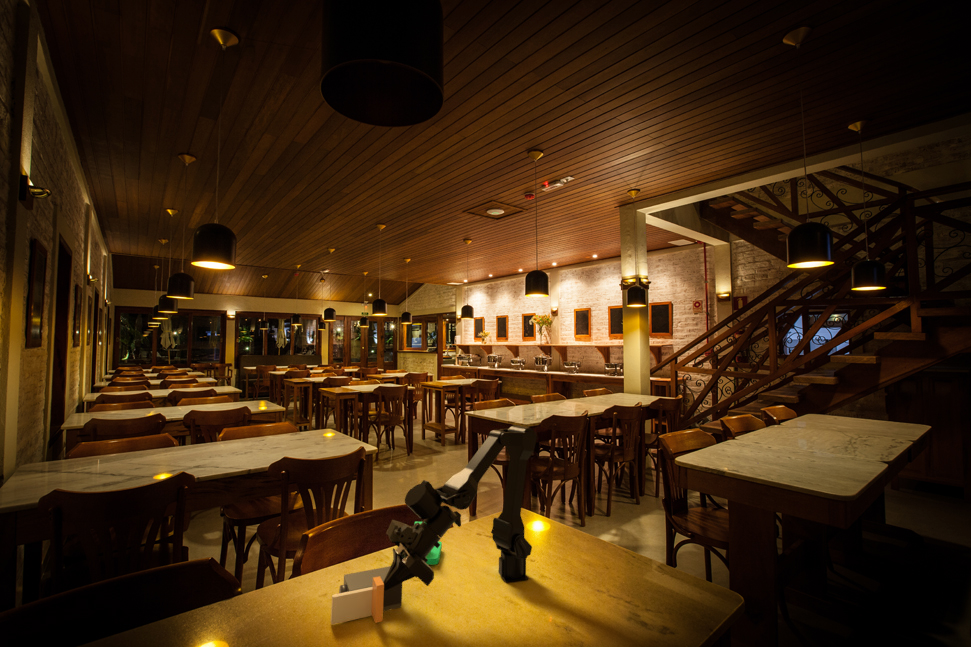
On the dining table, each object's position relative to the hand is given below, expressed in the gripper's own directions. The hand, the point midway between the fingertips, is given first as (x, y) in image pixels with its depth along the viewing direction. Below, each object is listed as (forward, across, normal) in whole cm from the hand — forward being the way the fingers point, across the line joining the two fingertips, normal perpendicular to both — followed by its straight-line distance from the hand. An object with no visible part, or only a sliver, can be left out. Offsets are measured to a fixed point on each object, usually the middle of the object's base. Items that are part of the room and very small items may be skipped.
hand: (382, 589), depth 95 cm
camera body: (+5, -8, +4) cm, 10 cm away
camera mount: (-8, -26, +18) cm, 33 cm away
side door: (+8, -1, +1) cm, 8 cm away
